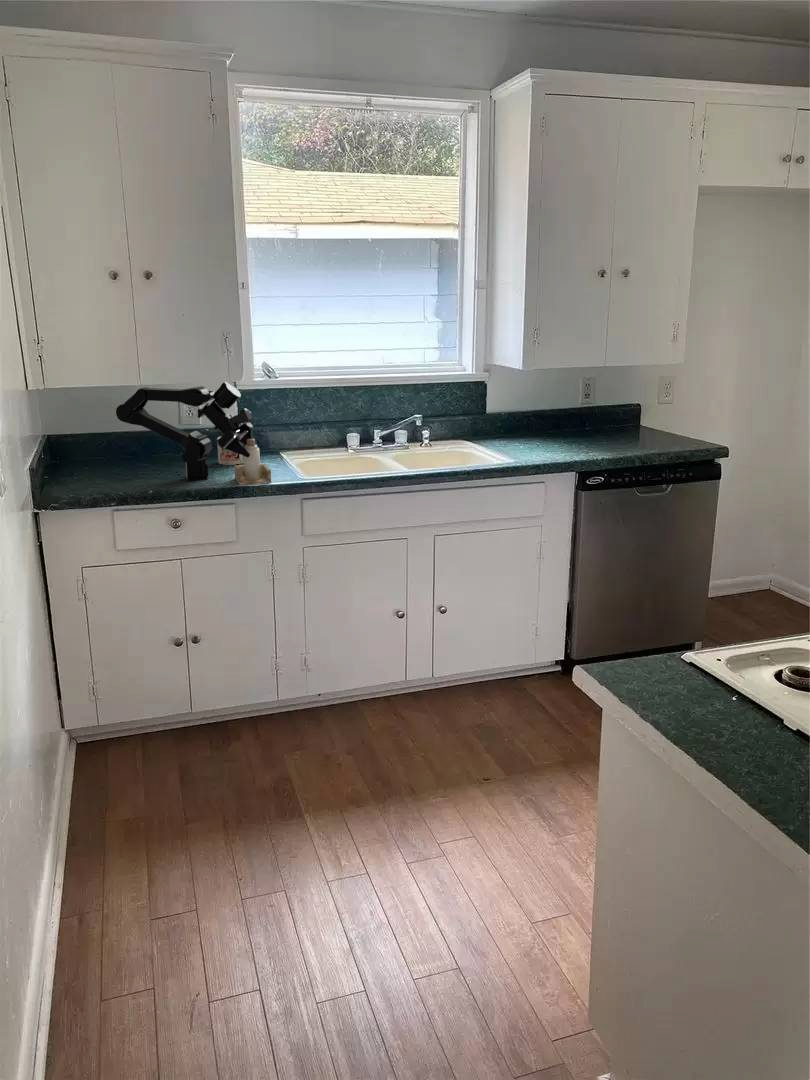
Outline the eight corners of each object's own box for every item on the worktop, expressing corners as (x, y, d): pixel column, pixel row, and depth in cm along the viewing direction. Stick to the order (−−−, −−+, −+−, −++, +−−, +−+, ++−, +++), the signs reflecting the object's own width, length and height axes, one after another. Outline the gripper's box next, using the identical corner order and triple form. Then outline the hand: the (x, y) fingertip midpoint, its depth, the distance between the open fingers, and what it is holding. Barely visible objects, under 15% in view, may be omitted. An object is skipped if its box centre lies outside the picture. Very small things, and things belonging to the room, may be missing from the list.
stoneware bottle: (242, 480, 271) (240, 440, 267) (247, 476, 276) (245, 437, 272) (258, 480, 270) (256, 441, 266) (262, 476, 275) (260, 438, 271)
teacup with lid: (217, 466, 294) (215, 433, 290) (218, 460, 303) (216, 428, 299) (251, 465, 296) (250, 432, 293) (251, 459, 305) (250, 428, 301)
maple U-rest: (240, 485, 267) (239, 472, 266) (235, 478, 276) (234, 465, 275) (271, 482, 271) (270, 470, 270) (265, 476, 280) (264, 463, 278)
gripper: (225, 405, 257) (260, 442, 259) (246, 397, 275) (279, 432, 276) (202, 429, 261) (237, 465, 262) (224, 420, 278) (257, 454, 280)
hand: (254, 453), depth 270 cm, fingers open, 9 cm apart
